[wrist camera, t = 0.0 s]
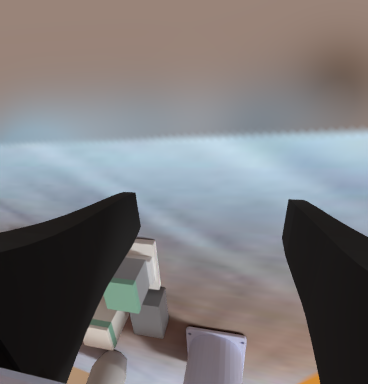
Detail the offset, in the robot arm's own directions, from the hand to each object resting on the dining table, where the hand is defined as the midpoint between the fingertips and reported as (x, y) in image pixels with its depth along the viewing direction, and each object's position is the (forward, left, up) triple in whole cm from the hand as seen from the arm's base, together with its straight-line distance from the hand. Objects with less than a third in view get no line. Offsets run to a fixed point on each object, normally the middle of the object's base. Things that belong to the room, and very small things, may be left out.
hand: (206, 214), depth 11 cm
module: (-22, +14, -10) cm, 28 cm away
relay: (-20, +8, -10) cm, 25 cm away
